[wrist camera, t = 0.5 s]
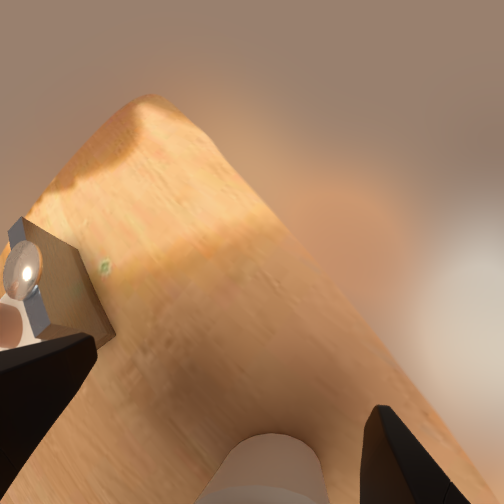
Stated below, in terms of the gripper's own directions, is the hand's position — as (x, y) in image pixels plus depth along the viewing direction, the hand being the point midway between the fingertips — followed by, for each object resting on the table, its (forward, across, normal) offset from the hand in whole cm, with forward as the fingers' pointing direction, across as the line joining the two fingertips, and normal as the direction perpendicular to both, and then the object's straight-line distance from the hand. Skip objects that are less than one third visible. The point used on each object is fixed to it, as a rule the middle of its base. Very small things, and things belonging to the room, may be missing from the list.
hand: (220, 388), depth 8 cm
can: (+7, -3, +15) cm, 17 cm away
